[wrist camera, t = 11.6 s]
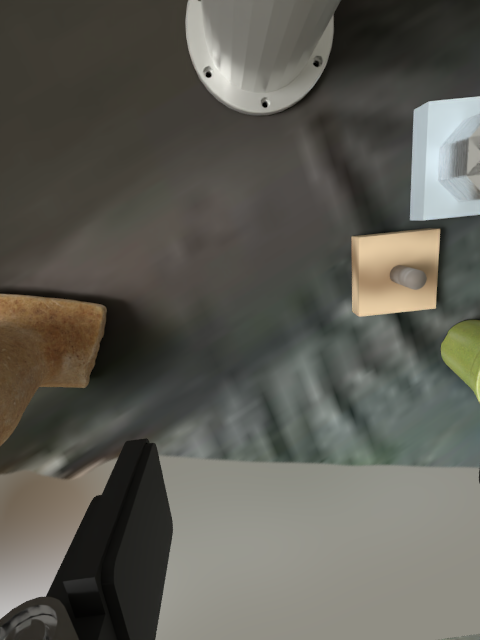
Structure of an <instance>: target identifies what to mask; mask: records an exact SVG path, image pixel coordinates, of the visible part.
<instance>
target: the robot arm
mask: <svg viewBox="0 0 480 640" xmlns="http://www.w3.org/2000/svg"><path fill="white" fill-rule="evenodd" d="M340 1H341V0H201V1H198V0H188V4H187V12H186V38H187V44H188V49H189V53H190V56H191V60H192V63H193V66H194V68H195V70H196V72H197V74H198V76H199V79H200V80H201V81H202V83H203V84H204V86H205V87H206V88H207V90H208V91H209V92H210V93H211V94H212V95H213V96H214V97H215V98H216V99H217V100H218V101H219V102H221V103H222V104H224V105H225V106H227V107H229V108H230V109H233V110H235V111H238V112H240V113H243V114H249V115H254V116H259V115H271V114H274V113H278V112H282V111H284V110H286V109H288V108H290V107H292V106H293V105H295V104H296V103H297V102H299V101H300V100H301V99H302V98H304V97H305V96H306V94H307V93H308V92H309V91H310V90H311V89H312V88H313V87H314V85H315V83H316V82H317V80H318V79H319V78H320V76H321V74H322V72H323V70H324V68H325V66H326V64H327V61H328V58H329V55H330V51H331V48H332V42H333V35H334V12H335V10H336V9H337V7H338V5H339V3H340ZM313 63H317V64H318V67H315V66H314V65H313ZM207 73H210V74H211V75H212V76H211V77H210V78H207V77H206V74H207ZM263 103H266V104H267V107H266V108H264V107H263V106H262V104H263ZM479 482H480V470H479ZM172 533H173V524H172V517H171V512H170V508H169V503H168V498H167V493H166V489H165V484H164V480H163V475H162V470H161V465H160V461H159V456H158V451H157V447H156V444H155V443H149V441H148V439H139V440H132V441H127V442H126V443H125V444H124V446H123V449H122V451H121V453H120V455H119V458H118V460H117V462H116V464H115V467H114V469H113V471H112V473H111V475H110V478H109V480H108V482H107V484H106V487H105V489H104V491H103V493H102V495H99V496H96V497H94V498H93V500H92V501H91V503H90V505H89V507H88V509H87V511H86V513H85V516H84V518H83V520H82V522H81V524H80V526H79V528H78V530H77V532H76V534H75V537H74V539H73V541H72V543H71V545H70V547H69V549H68V551H67V554H66V555H65V558H64V560H63V562H62V564H61V566H60V568H59V570H58V572H57V575H56V577H55V579H54V581H53V583H52V585H51V587H50V589H49V591H48V593H47V596H46V597H38V598H35V599H32V600H29V601H26V602H25V603H23V604H21V605H19V606H18V607H16V608H14V609H12V610H11V611H10V612H9V613H8V614H6V615H5V616H4V617H3V618H1V619H0V640H155V637H156V631H157V625H158V619H159V613H160V607H161V600H162V595H163V588H164V582H165V576H166V570H167V564H168V558H169V552H170V546H171V540H172ZM440 640H480V634H476V635H469V636H462V637H454V638H447V639H440Z"/></svg>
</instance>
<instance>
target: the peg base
mask: <svg viewBox="0 0 480 640" xmlns="http://www.w3.org/2000/svg"><path fill="white" fill-rule="evenodd" d="M479 113H480V96H479V97H469V98H459V99H449V100H439V101H429V102H427V103H425V104H423V105H422V106H420V107H418V108H416V109H415V110H414V120H413V148H412V177H411V205H410V220H433V219H442V218H452V217H461V216H471V215H480V200H470V201H457V200H456V199H455V198H454V197H453V196H452V195H451V194H450V193H449V192H448V191H447V190H446V189H445V188H444V187H443V186H442V184H441V183H440V182H439V181H438V168H439V147H440V146H441V145H442V144H443V143H444V142H445V141H446V139H447V138H448V137H449V136H450V135H451V134H452V132H453V131H454V130H455V129H456V128H457V127H458V126H459V124H460V123H461V122H462V120H465V119H467V118H470V117H472V116H474V115H477V114H479Z"/></svg>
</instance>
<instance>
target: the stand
mask: <svg viewBox="0 0 480 640" xmlns="http://www.w3.org/2000/svg"><path fill="white" fill-rule="evenodd" d="M439 243H440V229H432V228H428V229H418V230H408V231H399V232H389V233H380V234H370V235H361V236H352V312H354V313H355V314H356V315H358V316H359V317H360V316H370V315H379V314H388V313H397V312H407V311H416V310H425V309H434V308H436V294H437V277H438V260H439Z"/></svg>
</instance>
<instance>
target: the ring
mask: <svg viewBox="0 0 480 640" xmlns="http://www.w3.org/2000/svg"><path fill="white" fill-rule="evenodd" d="M438 181H439V182H440V183H441V184H442V186H443V187H444V188H445V189H446V190H447V191H448V192H449V193H450V194H451V195H452V196H453V197H454V198H455V199H456V200H457V201H470V200H480V113H479V114H477V115H474V116H472V117H470V118H467V119H465V120H462V122H461V123H460V124H459V126H458V127H457V128H456V129H455V130H454V131H453V132H452V134H451V135H450V136H449V137H448V138H447V139H446V141H445V142H444V143H443V144H442V145H441V146H440V147H439V168H438Z"/></svg>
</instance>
